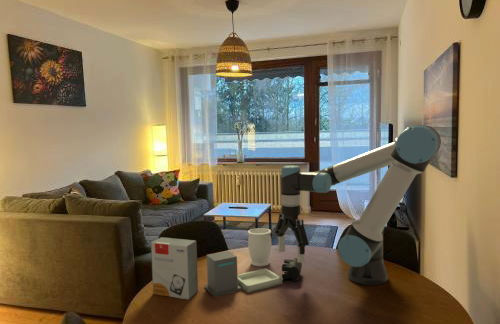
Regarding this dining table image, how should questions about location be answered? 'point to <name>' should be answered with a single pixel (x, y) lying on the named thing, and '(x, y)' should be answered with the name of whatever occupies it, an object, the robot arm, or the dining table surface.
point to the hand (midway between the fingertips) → (290, 256)
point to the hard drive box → (174, 267)
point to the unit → (222, 273)
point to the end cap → (291, 270)
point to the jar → (259, 246)
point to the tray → (258, 280)
